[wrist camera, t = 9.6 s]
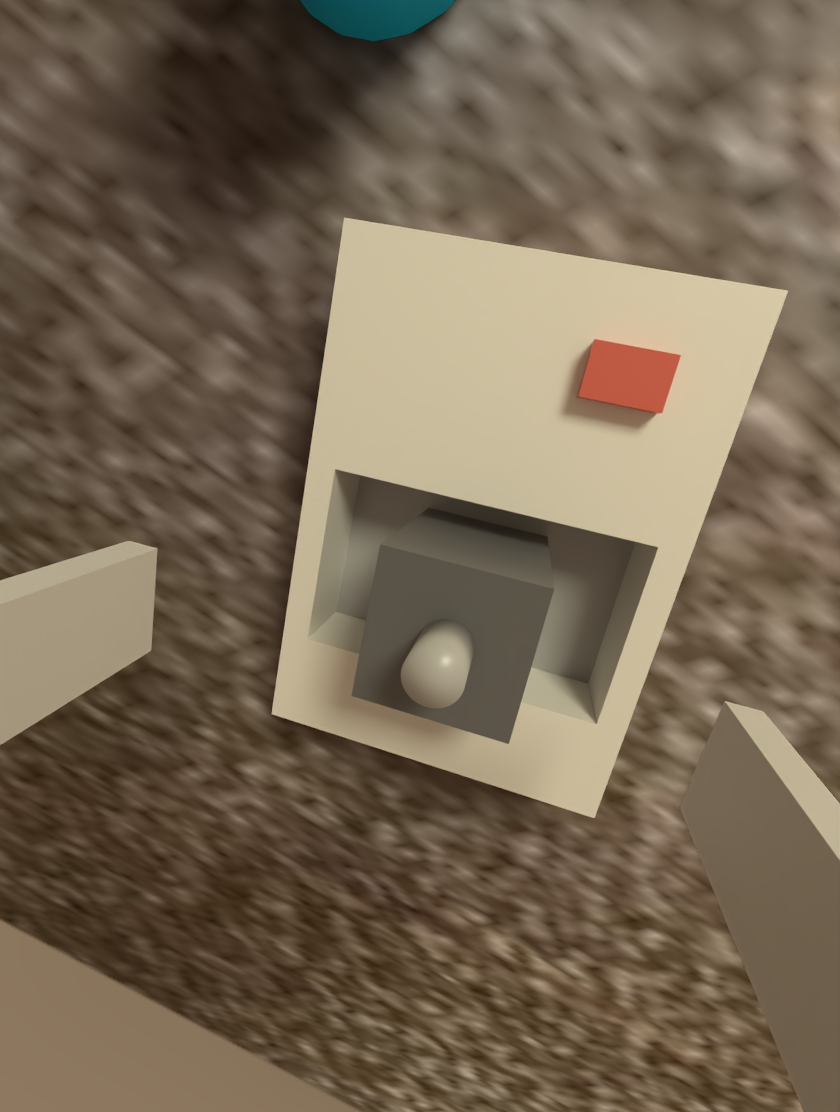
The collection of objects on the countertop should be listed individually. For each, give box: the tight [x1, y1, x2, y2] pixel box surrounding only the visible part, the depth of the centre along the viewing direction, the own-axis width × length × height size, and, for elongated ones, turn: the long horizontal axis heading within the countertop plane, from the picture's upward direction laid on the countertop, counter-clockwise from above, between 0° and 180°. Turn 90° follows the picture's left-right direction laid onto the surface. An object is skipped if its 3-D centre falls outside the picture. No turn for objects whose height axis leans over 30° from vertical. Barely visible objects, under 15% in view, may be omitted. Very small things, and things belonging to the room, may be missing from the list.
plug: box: [351, 508, 554, 744], centre depth 17 cm, size 5×5×9 cm
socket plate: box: [272, 218, 788, 818], centre depth 19 cm, size 13×18×4 cm
